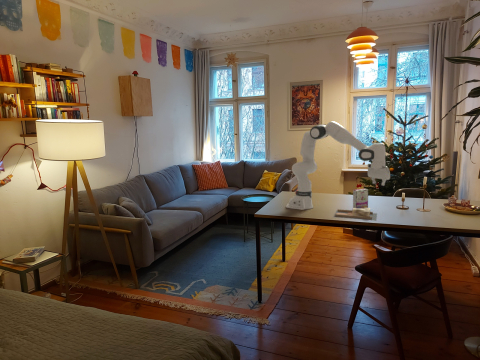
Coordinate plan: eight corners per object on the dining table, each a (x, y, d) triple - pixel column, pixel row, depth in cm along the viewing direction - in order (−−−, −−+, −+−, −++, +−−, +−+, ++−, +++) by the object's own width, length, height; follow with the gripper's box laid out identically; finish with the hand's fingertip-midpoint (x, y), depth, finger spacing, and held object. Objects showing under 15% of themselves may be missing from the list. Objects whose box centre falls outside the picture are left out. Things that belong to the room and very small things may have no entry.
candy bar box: (364, 208, 274) (364, 188, 272) (368, 209, 270) (368, 189, 267) (352, 209, 271) (352, 189, 269) (355, 210, 267) (356, 190, 264)
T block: (369, 214, 255) (370, 207, 254) (369, 218, 244) (369, 211, 243) (353, 212, 259) (353, 206, 259) (351, 217, 249) (352, 210, 248)
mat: (333, 217, 250) (333, 214, 250) (336, 210, 268) (336, 208, 268) (376, 221, 238) (376, 218, 238) (377, 213, 256) (377, 211, 256)
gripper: (392, 166, 233) (392, 186, 235) (373, 164, 252) (373, 182, 254) (385, 167, 231) (384, 187, 233) (366, 164, 251) (366, 182, 253)
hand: (378, 184), depth 244 cm, fingers open, 8 cm apart
